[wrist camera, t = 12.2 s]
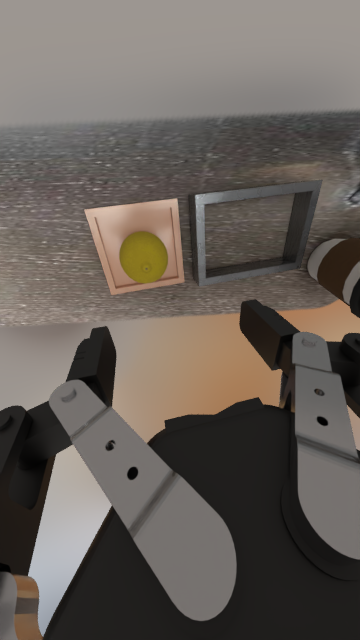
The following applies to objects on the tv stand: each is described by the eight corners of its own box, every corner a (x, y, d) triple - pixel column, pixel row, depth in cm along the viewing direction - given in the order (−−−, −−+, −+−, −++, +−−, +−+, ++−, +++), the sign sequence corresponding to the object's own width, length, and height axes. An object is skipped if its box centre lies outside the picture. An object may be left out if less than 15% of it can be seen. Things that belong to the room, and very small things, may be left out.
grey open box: (304, 180, 26) (322, 179, 24) (287, 262, 32) (300, 268, 30) (188, 194, 24) (195, 195, 22) (193, 278, 30) (199, 286, 28)
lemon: (111, 246, 25) (104, 266, 19) (143, 216, 24) (148, 225, 18) (141, 277, 28) (145, 303, 22) (171, 251, 27) (184, 271, 21)
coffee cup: (281, 280, 34) (343, 316, 24) (322, 213, 29) (420, 223, 19) (324, 293, 38) (392, 329, 28) (366, 235, 33) (467, 254, 23)
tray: (175, 198, 24) (177, 198, 23) (182, 279, 30) (184, 282, 29) (86, 208, 23) (84, 209, 22) (112, 291, 29) (111, 295, 28)
